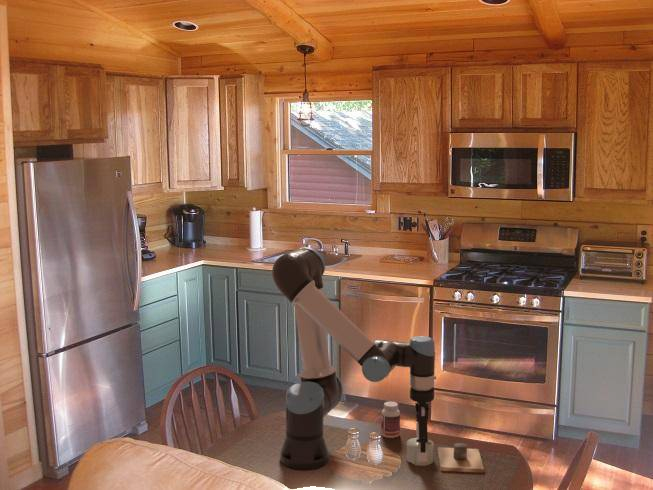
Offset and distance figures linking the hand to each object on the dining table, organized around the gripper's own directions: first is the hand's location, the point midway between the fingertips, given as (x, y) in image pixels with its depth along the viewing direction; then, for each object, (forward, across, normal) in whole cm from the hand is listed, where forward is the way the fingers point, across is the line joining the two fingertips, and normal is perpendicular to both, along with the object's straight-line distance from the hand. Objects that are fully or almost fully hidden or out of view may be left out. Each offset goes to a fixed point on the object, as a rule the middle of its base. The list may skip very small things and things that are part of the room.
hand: (421, 451), depth 240 cm
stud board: (+3, 0, -12) cm, 12 cm away
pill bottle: (+3, +18, +10) cm, 21 cm away
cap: (+3, 0, 0) cm, 3 cm away
